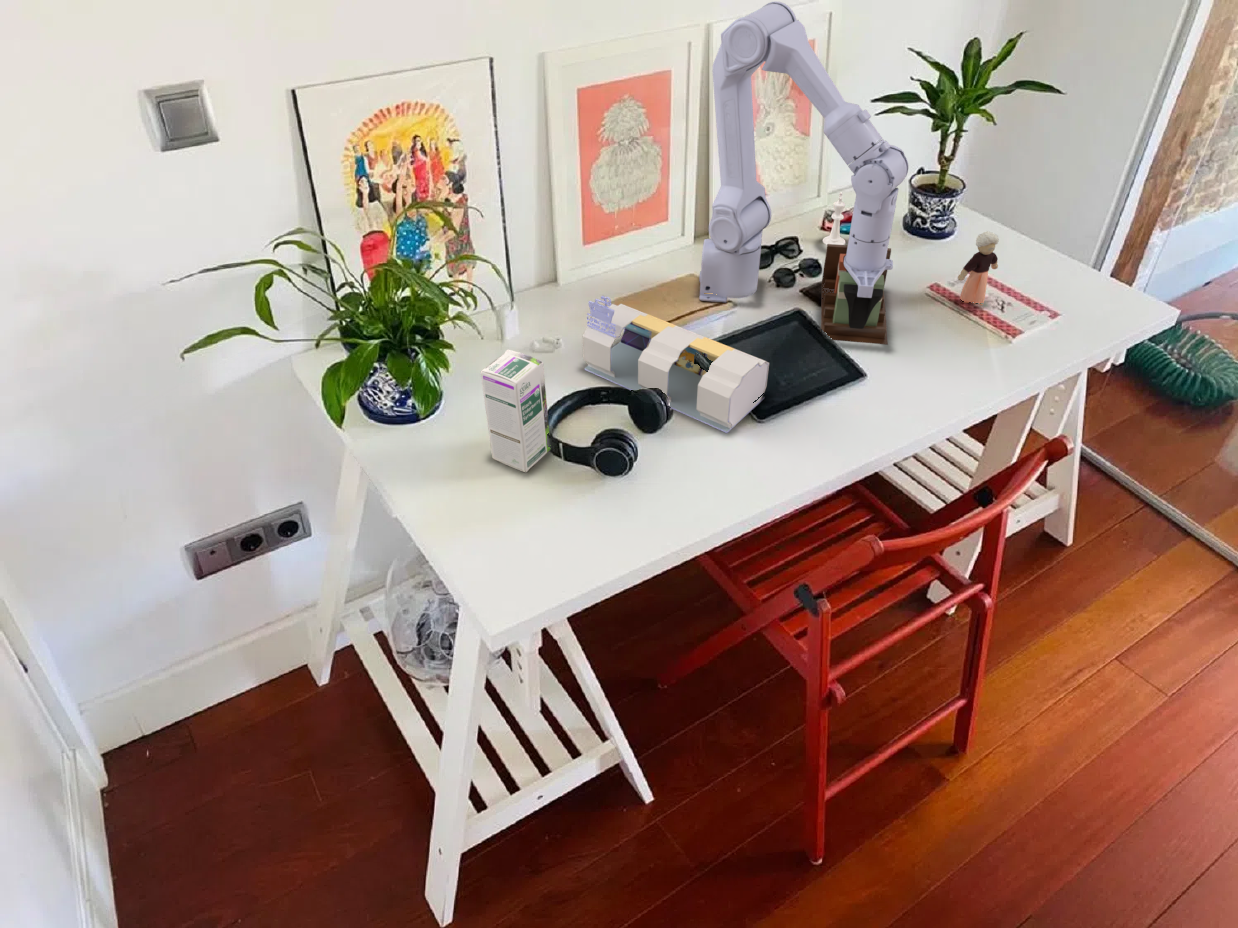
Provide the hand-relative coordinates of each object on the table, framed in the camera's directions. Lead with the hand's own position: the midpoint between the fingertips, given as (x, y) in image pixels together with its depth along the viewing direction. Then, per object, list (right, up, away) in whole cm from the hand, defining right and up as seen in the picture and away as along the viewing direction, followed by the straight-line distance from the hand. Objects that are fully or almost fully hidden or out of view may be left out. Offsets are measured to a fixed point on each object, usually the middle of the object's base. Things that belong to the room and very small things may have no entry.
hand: (855, 314), depth 152 cm
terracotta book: (+1, +4, +8) cm, 9 cm away
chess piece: (+1, +15, +23) cm, 28 cm away
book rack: (+1, 0, +5) cm, 5 cm away
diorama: (-29, -11, -8) cm, 32 cm away
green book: (0, -2, +1) cm, 2 cm away
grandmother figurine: (+21, +3, +8) cm, 22 cm away
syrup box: (-49, -22, -20) cm, 57 cm away
